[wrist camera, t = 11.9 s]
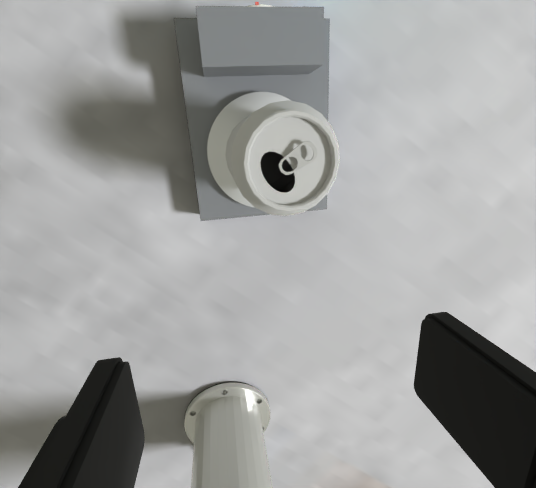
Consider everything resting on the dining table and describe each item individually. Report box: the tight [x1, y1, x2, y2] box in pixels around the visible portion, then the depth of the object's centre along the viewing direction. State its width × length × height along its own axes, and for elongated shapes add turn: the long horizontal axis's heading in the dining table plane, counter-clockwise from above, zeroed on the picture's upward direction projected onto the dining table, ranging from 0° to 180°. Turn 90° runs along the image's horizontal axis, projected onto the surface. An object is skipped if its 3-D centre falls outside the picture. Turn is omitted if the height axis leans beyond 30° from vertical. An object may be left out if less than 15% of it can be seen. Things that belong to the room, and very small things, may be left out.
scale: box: [174, 2, 330, 221], centre depth 29 cm, size 18×14×7 cm
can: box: [225, 100, 340, 216], centre depth 24 cm, size 8×8×12 cm
